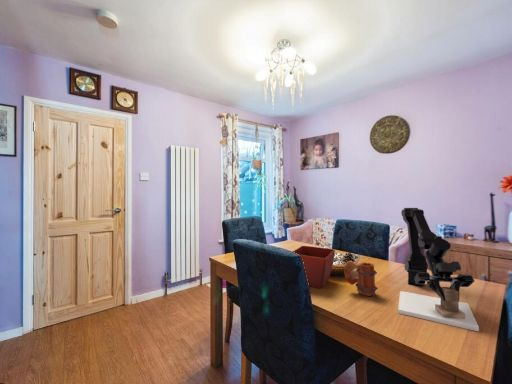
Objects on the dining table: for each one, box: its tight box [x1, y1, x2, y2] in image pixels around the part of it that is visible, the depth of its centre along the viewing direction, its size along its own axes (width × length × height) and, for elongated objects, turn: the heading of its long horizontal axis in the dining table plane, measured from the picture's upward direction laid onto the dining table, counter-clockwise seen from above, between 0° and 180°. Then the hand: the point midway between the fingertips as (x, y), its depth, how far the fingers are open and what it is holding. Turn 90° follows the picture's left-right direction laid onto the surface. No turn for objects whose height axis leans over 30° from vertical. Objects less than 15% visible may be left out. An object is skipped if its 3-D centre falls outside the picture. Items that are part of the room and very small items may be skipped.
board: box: [397, 290, 480, 332], centre depth 98 cm, size 24×20×2 cm
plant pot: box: [292, 245, 336, 289], centre depth 129 cm, size 19×19×17 cm
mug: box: [343, 260, 378, 297], centre depth 115 cm, size 15×8×15 cm, turn 71°
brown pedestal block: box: [435, 286, 465, 319], centre depth 92 cm, size 7×6×10 cm
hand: (451, 301), depth 90 cm, fingers closed on brown pedestal block, 4 cm apart
